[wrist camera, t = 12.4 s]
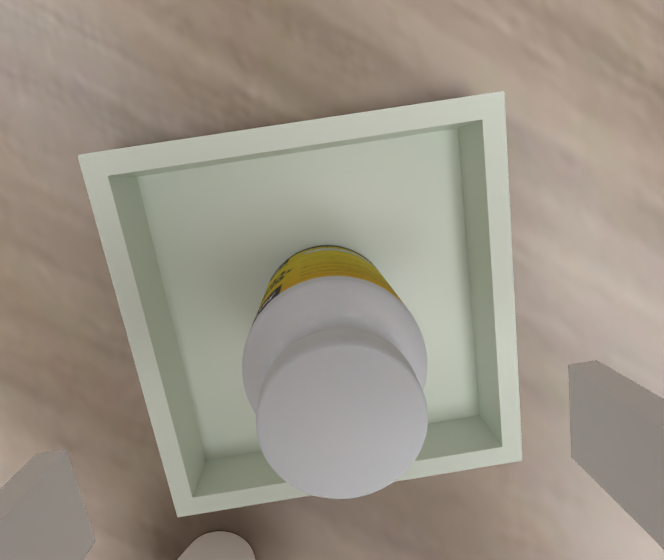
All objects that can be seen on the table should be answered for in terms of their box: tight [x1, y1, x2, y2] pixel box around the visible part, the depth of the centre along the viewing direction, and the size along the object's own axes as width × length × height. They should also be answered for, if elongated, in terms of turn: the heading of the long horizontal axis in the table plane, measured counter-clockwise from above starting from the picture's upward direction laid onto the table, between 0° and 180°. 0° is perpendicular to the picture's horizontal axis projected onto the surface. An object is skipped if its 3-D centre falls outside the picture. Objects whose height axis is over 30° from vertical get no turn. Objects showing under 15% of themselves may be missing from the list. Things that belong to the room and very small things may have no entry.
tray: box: [77, 91, 522, 518], centre depth 21 cm, size 18×18×4 cm
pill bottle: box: [242, 245, 428, 499], centre depth 17 cm, size 6×6×12 cm
